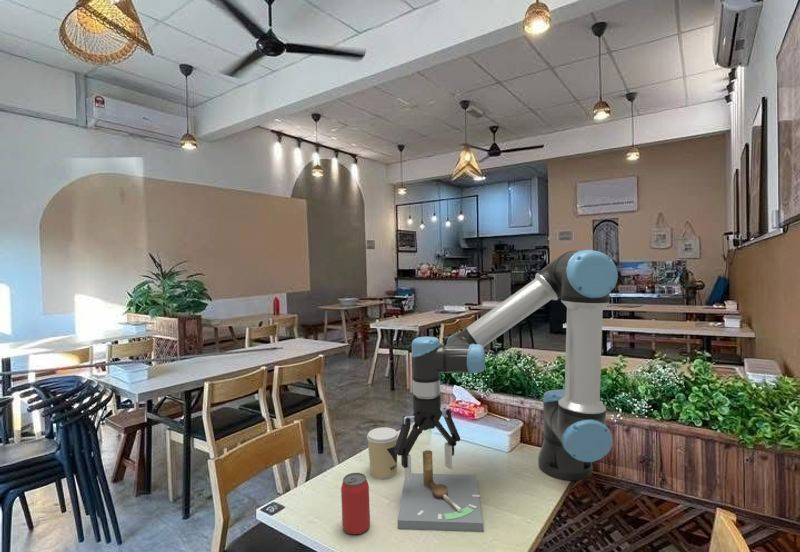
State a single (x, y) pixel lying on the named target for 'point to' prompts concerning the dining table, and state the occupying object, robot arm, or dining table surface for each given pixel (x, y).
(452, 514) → the board
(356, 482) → the beer can
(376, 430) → the coffee cup
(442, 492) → the peg dial
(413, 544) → the dining table surface
